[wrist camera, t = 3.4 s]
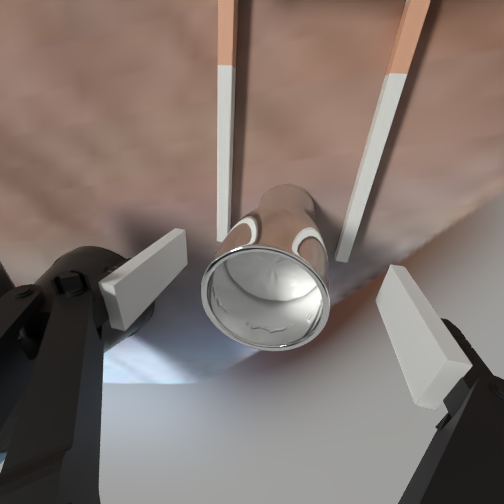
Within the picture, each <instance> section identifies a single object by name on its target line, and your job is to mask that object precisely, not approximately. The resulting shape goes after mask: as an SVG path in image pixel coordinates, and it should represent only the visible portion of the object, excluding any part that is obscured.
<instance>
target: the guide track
mask: <svg viewBox="0 0 504 504" xmlns="http://www.w3.org/2000/svg"><path fill="white" fill-rule="evenodd" d="M430 1H431V0H406V4H405V7H404V11H403V14H402V18H401V21H400V25H399V29H398V32H397V36H396V39H395V43H394V46H393V50H392V53H391V57H390V60H389V64H388V68H387V71H386V75H385V78H384V82H383V85H382V89H381V92H380V96H379V99H378V103H377V107H376V110H375V114H374V117H373V121H372V124H371V128H370V131H369V135H368V139H367V142H366V146H365V149H364V153H363V156H362V160H361V163H360V167H359V170H358V174H357V178H356V181H355V185H354V188H353V192H352V195H351V199H350V202H349V206H348V209H347V213H346V217H345V220H344V224H343V227H342V231H341V234H340V238H339V241H338V245H337V249H336V252H335V260H336V261H339V262H346V263H347V262H348V259H349V256H350V253H351V250H352V247H353V244H354V240H355V237H356V234H357V231H358V228H359V225H360V222H361V218H362V215H363V212H364V209H365V206H366V203H367V199H368V196H369V193H370V190H371V187H372V184H373V181H374V177H375V174H376V171H377V168H378V165H379V162H380V159H381V155H382V152H383V149H384V146H385V143H386V140H387V136H388V133H389V130H390V127H391V124H392V121H393V118H394V114H395V111H396V108H397V105H398V102H399V99H400V96H401V92H402V89H403V86H404V83H405V80H406V77H407V73H408V70H409V67H410V64H411V61H412V58H413V55H414V51H415V48H416V45H417V42H418V39H419V36H420V33H421V29H422V26H423V23H424V20H425V17H426V14H427V10H428V7H429V4H430ZM237 26H238V0H218V135H217V241H218V242H223V240H224V239H225V238H226V236H227V235H228V233H229V232H230V226H231V197H232V169H233V140H234V112H235V83H236V54H237Z"/></svg>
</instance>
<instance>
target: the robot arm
mask: <svg viewBox="0 0 504 504" xmlns="http://www.w3.org/2000/svg"><path fill="white" fill-rule="evenodd" d="M187 264H188V263H187V247H186V232H185V230H183V229H177V228H175V229H173V230H172V231H170V232H169V233H167V234H166V235H165V236H163V237H162V238H160V239H159V240H158V241H156V242H155V243H153V244H152V245H150V246H149V247H148V248H146V249H145V250H143V251H142V252H141V253H139V254H138V255H136V256H135V257H133V258H129V259H126V260H125V259H123V258H122V257H120V256H119V255H117V254H115V253H113V252H111V251H109V250H106V249H103V248H99V247H94V246H84V247H79V248H76V249H74V250H72V251H70V252H68V253H66V254H64V255H63V256H61V257H60V258H58V259H57V260H56V261H55V262H54V264H53V265H52V266H51V267H50V268H49V269H48V270H47V271H46V272H45V273H44V274H43V275H42V276H41V277H40V278H39V279H38V280H37V281H36V282H35V283H34V284H30V285H23V286H19V287H15V285H14V284H13V282H12V280H11V279H10V277H9V275H8V274H7V272H6V270H5V269H4V267H3V265H2V264H1V262H0V464H1V463H2V461H3V460H4V459H5V461H4V464H3V468H2V470H1V473H0V504H100V497H99V488H98V487H99V458H100V433H101V432H100V431H101V407H102V382H103V356H104V353H105V352H106V351H108V350H109V349H111V348H112V347H114V346H115V345H117V344H118V343H120V342H121V341H122V340H124V339H125V338H127V337H130V336H132V335H133V334H135V333H137V332H138V331H139V330H140V329H141V328H142V327H143V326H144V325H145V324H146V322H147V321H148V320H149V319H150V317H151V316H152V313H153V309H154V300H155V299H156V298H157V296H158V295H159V294H160V293H161V292H162V291H163V290H164V289H165V288H166V287H167V286H168V285H169V284H170V283H171V281H172V280H173V279H174V278H175V277H176V276H177V275H178V274H179V273H180V272H181V271H182V270H183V269H184V268H185V266H186V265H187ZM375 301H376V304H377V306H378V309H379V312H380V314H381V317H382V320H383V322H384V325H385V328H386V330H387V333H388V335H389V338H390V341H391V343H392V346H393V349H394V351H395V354H396V356H397V359H398V362H399V364H400V367H401V370H402V372H403V375H404V378H405V380H406V383H407V386H408V388H409V391H410V393H411V396H412V399H413V401H414V404H415V405H417V406H421V407H425V408H429V409H433V410H437V408H438V407H439V406H440V405H441V404H442V402H444V404H445V406H446V408H447V410H448V413H447V414H446V415H445V417H444V418H443V419H442V420H441V421H440V423H439V424H438V425H437V426H436V428H437V429H438V430H437V432H436V433H435V435H434V437H433V439H432V441H431V443H430V445H429V447H428V449H427V450H426V452H425V454H424V456H423V458H422V460H421V462H420V464H419V465H418V467H417V469H416V471H415V473H414V475H413V477H412V479H411V481H410V482H409V484H408V486H407V488H406V490H405V492H404V494H403V496H402V497H401V499H400V501H399V503H398V504H504V380H503V379H501V378H499V377H496V376H494V375H493V374H492V373H491V371H490V370H489V369H488V367H487V366H486V365H485V363H484V362H483V361H482V359H481V358H480V357H479V356H478V354H477V353H476V351H475V350H474V349H473V348H471V345H470V343H469V342H468V341H467V340H466V338H465V337H464V335H463V334H462V333H461V331H460V330H459V329H458V328H457V327H456V326H455V325H453V324H452V323H451V322H450V321H449V320H447V319H442V318H440V317H439V316H438V314H437V313H436V312H435V310H434V309H433V307H432V306H431V304H430V303H429V301H428V300H427V299H426V297H425V296H424V294H423V293H422V291H421V290H420V288H419V287H418V286H417V284H416V283H415V281H414V280H413V278H412V277H411V275H410V274H409V273H408V271H407V270H406V268H405V267H403V266H397V265H391V264H390V267H389V269H388V272H387V274H386V276H385V279H384V281H383V284H382V286H381V288H380V290H379V293H378V295H377V298H376V300H375Z"/></svg>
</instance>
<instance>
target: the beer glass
mask: <svg viewBox="0 0 504 504" xmlns="http://www.w3.org/2000/svg"><path fill="white" fill-rule="evenodd" d="M314 220H315V206H314V203H313V200H312V199H311V197H310V196H309V194H308V193H307V192H305V191H304V190H303V189H301V188H299V187H297V186H294V185H288V184H285V185H278V186H275V187H273V188H271V189H270V190H268V191H267V192H266V193H265V194H264V195H263V196H262V198H261V199H260V201H259V204H258V207H257V208H256V209H254V210H252V211H251V212H250V213H248V214H247V215H245V216H244V217H243V218H242V219H240V220H239V221H238V223H237V224H236V225H235V226H234V227H233V228H232V229H231V230H230V232H229V233H228V235H227V236H226V238H225V239H224V240H223V242H222V244H221V245H220V247H219V249H218V251H217V252H216V254H215V256H214V258H213V260H212V262H211V263H210V265H209V266H208V267H207V269H206V271H205V273H204V275H203V277H202V281H201V287H200V294H201V300H202V304H203V307H204V309H205V312H206V314H207V315H208V317H209V318H210V320H211V321H212V322H213V324H214V325H215V326H216V327H217V328H218V329H219V330H220V331H221V332H222V333H224V334H225V335H226V336H228V337H229V338H231V339H232V340H234V341H236V342H238V343H240V344H243V345H245V346H248V347H251V348H255V349H259V350H266V351H283V350H289V349H293V348H297V347H300V346H302V345H304V344H306V343H308V342H309V341H311V340H312V339H314V338H315V337H316V336H317V335H318V334H319V333H320V332H321V331H322V329H323V328H324V326H325V324H326V323H327V320H328V317H329V313H330V297H329V264H328V255H327V251H326V247H325V243H324V240H323V237H322V235H321V233H320V231H319V229H318V227H317V225H316V224H315V222H314Z"/></svg>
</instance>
